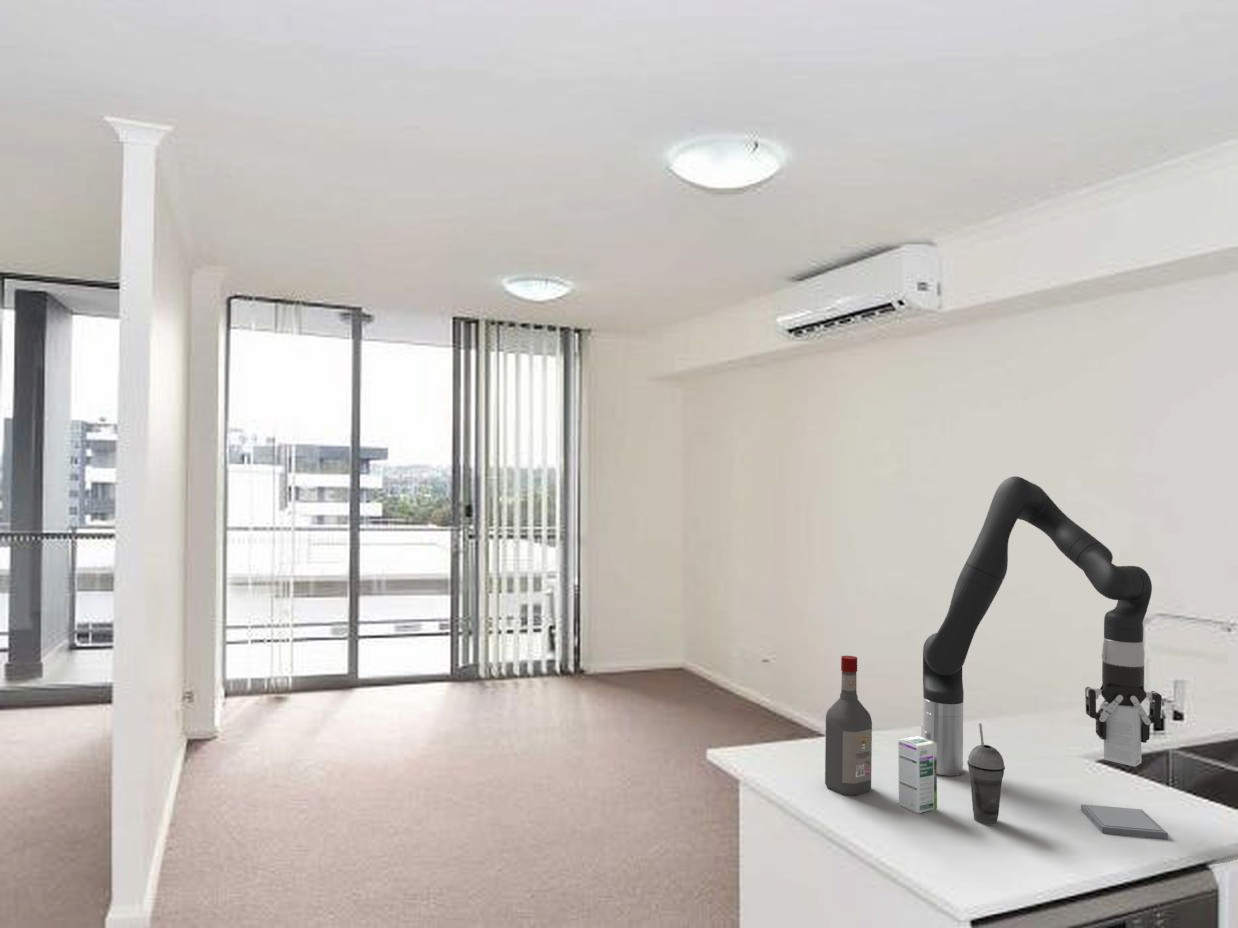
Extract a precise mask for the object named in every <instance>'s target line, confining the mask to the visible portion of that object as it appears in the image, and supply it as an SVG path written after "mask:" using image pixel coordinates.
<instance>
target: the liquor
mask: <svg viewBox="0 0 1238 928" xmlns="http://www.w3.org/2000/svg"><path fill="white" fill-rule="evenodd" d="M840 657H841V658H840V659H841V660H840V671H841V690H840V694H839V698H838V699H837V700H836V701H835V702H834V703H833V704H832V705H831V706H830V707H829V708H828V709H827V711H826V714H825V745H824V746H825V751H824V753H825V754H824V755H825V756H824V757H825V760H824V761H825V762H824V763H825V765H824V766H825V767H824V769H825V770H824V772H825V773H824V784H825V786H826V788H827V789H830V790H832V791H833V792H836V793H839V794H840V795H843V796H853V797H854V796H859V795H863V794H866V793H870V791H871V790H872V763H873V762H872V757H873V756H872V755H873V754H872V751H873V750H872V749H873V748H872V747H873V744H872V743H873V742H872V741H873V722H872V720H873V719H872V717H871V714H870V712H869V711H868V710H867V708H866V707H865V706H864V705H863V704H862V702H861V701H860V700H859V699H858V698H859V696H858V694H857V693H858V691H857V677H858V676H857V673H858V657H857V656H854V655H841V656H840Z"/></svg>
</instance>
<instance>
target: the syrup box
mask: <svg viewBox="0 0 1238 928" xmlns="http://www.w3.org/2000/svg"><path fill="white" fill-rule="evenodd" d="M897 741H898V751H897V752H898V805H899V806H901V807H903V808H905V809H907V810H909V811H911V812H914V813H915V814H921V813H925V812H928V811H933V810H934V811H935V810H937V809H938V791H937V790H938V779H937V778H938V774H937V744H936V742H934V741H931V740H929V739H926V738H923V737H921V736H918V735H916V736H912V737H905V738H900V739H898V740H897Z"/></svg>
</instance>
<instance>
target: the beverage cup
mask: <svg viewBox="0 0 1238 928" xmlns="http://www.w3.org/2000/svg"><path fill="white" fill-rule="evenodd" d="M978 727H979V735H980V736H979V737H980V744H979V745H977V746H975V747H974V748H972V749H971V751H970V752H969V754H968V760H967V763H966V764H967V765H968V767H967V768H968V773H969V777H970V779H969V780H970V787H971V788H970V789H971V790H970V791H971V801H972V813H973V820H974V821H975V822H977V823H980V824H982V825H988V826H991V825H992V826H994V825H997V824H998V818H999V814H1000V813H999V812H1000V802H1001V793H1002V792H1001V791H1002V783H1003V778H1004V774H1005V770H1006V767H1005V762H1004V758H1003V756H1002V754H1001V753H1000V751H998V750H997V748H995V747H993V746H992V745H989V744H985V743H984V733H983V725H982V723H978Z"/></svg>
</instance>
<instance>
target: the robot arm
mask: <svg viewBox="0 0 1238 928" xmlns="http://www.w3.org/2000/svg"><path fill="white" fill-rule="evenodd" d="M987 511H988V512H987V514H986V517H985V519H984V522H983V525H982V527H981V529H980V532H979V534H978V536H977V538H976V541H975V542H974V545H973V548H972V549H971V552H970V554H969V556H968V557H967V559H966V561H965V563H964V565H963V566H962V570H961V571H960V574H959V576H958V578H957V581H956V583H955V586H954V589H953V593H952V596H951V600H950V604H949V607H948V611H947V614H946V616H945V618H944V620H943V622H942V624H941V625H940V627H939V629H938V631H937V632H935V633H933V634H931V635H929V636H928V637H927V638H926V640H925V641H924V644H923V647H922V687H923V688H922V689H923V690H922V691H923V693H922V694H923V707H922V710H923V712H922V713H923V715H922V718H923V719H922V725H921V729H920V732H921V736H920V737H923V738H926V739H929V740H931V741H934V742H936V744H937V775H941V776H948V777H949V776H951V777H952V776H953V777H954V776H959V775H962V774H963V771H964V697H965V696H964V682H963V666H964V664H965V661H966V659H967V655H968V652H969V649H970V646H971V644H972V641H973V638H974V635H975V633H976V632H977V629H978V627H979V625H980V623H981V622H982V620H983V618H985V617H984V616H985V615H986V614H987V612H988V610H989V608H990V607H991V605H992V603H993V601H994V599H995V597H996V596H997V594H998V592H999V590H1000V587H1001V586H1002V584H1003V582H1004V580H1005V577H1006V574H1007V571H1008V564H1009V563H1008V561H1009V558H1008V557H1009V540H1010V536H1011V533H1012V531H1013V529H1014V527H1015V525H1016V522H1017V521H1018V520H1022V521H1024V522H1026V523H1028V524H1030V525H1032V526H1034V527H1035V528H1037V529H1039V530H1040V531H1042V532H1043V533H1044V534H1045V535H1046V536H1047V537H1049V539H1050V540H1051V541H1052V542H1053V544H1054V545H1055V546H1056V547H1057V548H1058V550H1059V551H1060V552H1061V553H1062V554H1063V555H1064V556H1065V557H1066V558H1067V559H1069V560H1070V561H1071V562H1072V563H1073V564H1074V565H1075V566H1077V567H1078V569H1081V570H1082V571H1083V573H1084V575H1085V577H1086V578H1087V579H1088V581H1089V582H1090V583H1091V585H1092V586H1093V588H1094V589H1095V590H1096V591H1097V592H1098V593H1099V594H1100V595H1102V596H1103V597H1105V598H1106V599H1109V600H1114V601H1117V602H1116V605H1115V607H1114V608H1113V609H1111V610H1109V611H1107V612H1106V613H1105V614H1104V619H1103V643H1102V650H1101V652H1102V653H1101V659H1102V662H1101V663H1102V664H1101V665H1102V667H1101V669H1102V670H1101V671H1102V673H1101V675H1102V676H1101V677H1102V678H1101V679H1102V680H1101V681H1102V684H1101V686H1100V688H1092V687H1090V686H1086V687H1085V689H1084V692H1085V693H1084V694H1085V714H1086V715H1087V716H1089V717H1090V718H1091V719H1094V720H1095V734H1096V736H1098V738H1099V739H1101V740H1103V741H1104V740H1106V722H1105V720H1106V719H1107V717H1108V716H1109V715H1110V714H1112V713H1113V711H1114V710H1115V708H1116V707H1117V706H1118V705H1123V706H1134V707H1138V708H1139V715H1140V717H1141V744H1142V743H1144V744H1147V742H1148V741H1149V740H1150V736H1151V735H1150V733H1151V730H1150V729H1151V724H1155V723H1156V724H1159V723H1160V722H1161V719H1162V716H1161V715H1162V699H1163V697H1162V694H1160V693H1158V692H1157V691H1154V690H1151V691H1146V690H1145V648H1144V620H1145V616H1146V615H1147V612H1148V608H1149V604H1150V600H1151V596H1152V591H1153V585H1152V584H1153V583H1152V581H1151V577H1150V576H1149V574H1148V572H1147V571H1146V570H1145V569H1144V568H1143V567H1140V566H1136V565H1115V564H1114V563H1112V562H1113V560H1114V559H1113V558H1114V557H1113V554H1112V551H1111V550H1110V549H1109V548H1108V547H1107V546H1106V545H1104V543H1102V542H1101V541H1099V540H1098V539H1097V538H1096V537H1094V535H1092V534H1091V533H1089V532H1088V531H1087V530H1085V529H1084V528H1082V527H1081V526H1080V525H1078V524H1077V523H1076V522H1074V521H1073V520H1072V519H1071V518H1070V517H1069V516H1068V515H1066V514H1065V513H1064V512H1063V510H1061V509H1060V507H1058V506H1057V504H1056V503H1055V502H1054V501H1053V499H1052V498H1050V496H1049V495H1048V494H1047V492H1046V491H1045V490H1044V489H1043V488H1042V487H1041V486H1039V485H1037V484H1035V483H1033V482H1031V481H1029V480H1027V479H1025V478H1023V477H1020V476H1010V477H1008V478H1007V477H1006V479H1004V480H1003V481H1001V482H1000V484H999V486H998V487H997V488H996V490H995V492H994V495H993V497H992V500H991V502H990V506H989V509H988V510H987ZM1100 695H1101V696H1102V698H1103V701H1102V703H1100V705H1099V708H1098V709H1097V700H1098V699H1099V697H1100ZM1145 699H1146V701H1148V703H1149V707H1148V708H1149V709H1148V710H1149V711H1148V712H1149V715H1147V712H1146V710H1145V708H1143V706H1142V703H1143V701H1144V700H1145ZM1105 702H1107V703H1109V705H1108V707H1105V706H1104V703H1105Z"/></svg>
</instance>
